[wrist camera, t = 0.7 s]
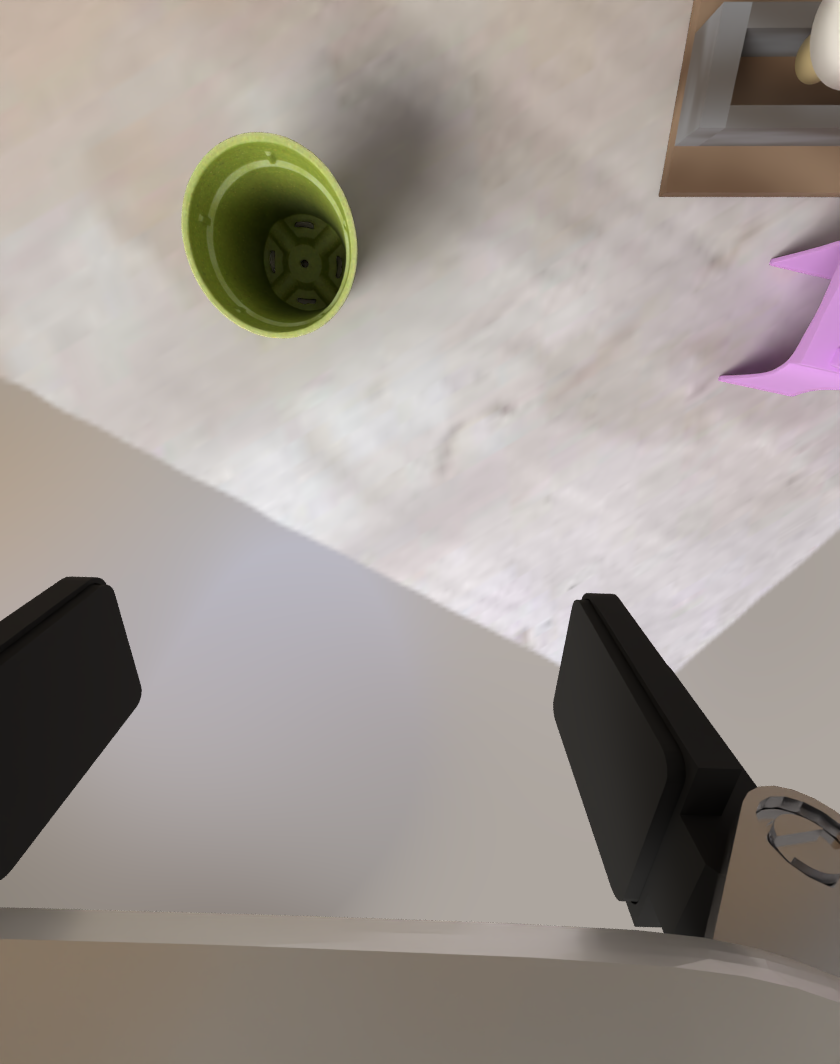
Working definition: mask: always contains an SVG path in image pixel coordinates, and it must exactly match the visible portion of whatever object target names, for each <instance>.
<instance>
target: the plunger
mask: <svg viewBox="0 0 840 1064" xmlns="http://www.w3.org/2000/svg"><path fill="white" fill-rule="evenodd" d="M795 72H796V75H797V77H798V79H799V80H800V81H801V82H802V83H804V84H809V85H811V84H816V83H818V82H820V81H822V82H823V83H824V84H825V85H826V86H828V87H830V88H832V89H835V90H840V0H822V2H821V4H820V6H819V8H818V10H817V13H816V15H815V19H814V22H813V25H812V30H811V34H810V35H809V36H808V37H807V38H806V39H805V40H804V42H803V43H802V45H801V46H800V48H799V50H798V53H797V56H796V60H795Z"/></svg>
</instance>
